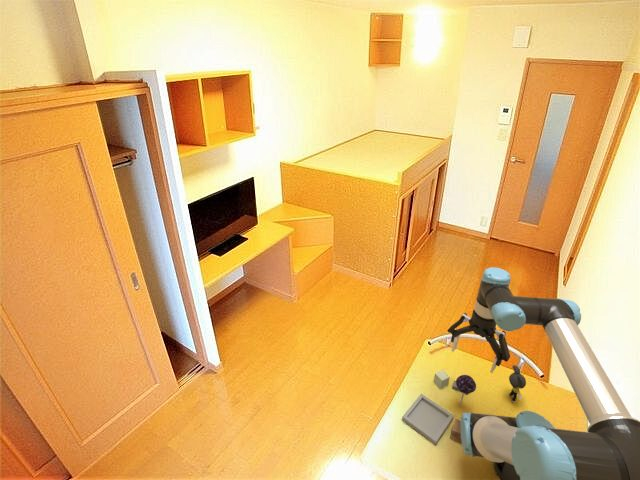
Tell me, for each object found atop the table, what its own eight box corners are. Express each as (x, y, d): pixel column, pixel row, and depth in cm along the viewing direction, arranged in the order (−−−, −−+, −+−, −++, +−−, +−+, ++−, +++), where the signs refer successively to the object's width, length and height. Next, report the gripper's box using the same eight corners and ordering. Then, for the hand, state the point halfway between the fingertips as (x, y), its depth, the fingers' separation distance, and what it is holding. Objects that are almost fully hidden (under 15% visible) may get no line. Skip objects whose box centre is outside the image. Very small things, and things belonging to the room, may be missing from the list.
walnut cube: (467, 433, 124) (470, 424, 121) (464, 445, 120) (467, 436, 117) (452, 426, 126) (455, 418, 123) (449, 438, 122) (452, 430, 119)
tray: (453, 419, 128) (454, 415, 127) (435, 445, 120) (436, 441, 119) (420, 397, 136) (421, 393, 135) (401, 420, 128) (402, 416, 127)
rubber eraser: (468, 389, 139) (469, 386, 138) (467, 395, 137) (468, 392, 136) (453, 383, 142) (454, 380, 141) (451, 389, 140) (452, 385, 139)
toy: (522, 408, 132) (534, 381, 124) (508, 408, 132) (518, 381, 125) (512, 389, 139) (522, 363, 132) (498, 389, 139) (508, 362, 132)
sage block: (447, 385, 141) (449, 376, 139) (440, 389, 140) (442, 380, 137) (440, 378, 144) (442, 369, 142) (433, 381, 143) (435, 373, 140)
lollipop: (466, 397, 136) (474, 371, 129) (471, 413, 130) (480, 386, 123) (448, 396, 137) (455, 369, 129) (452, 412, 131) (460, 385, 123)
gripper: (532, 324, 106) (514, 373, 116) (454, 290, 121) (444, 336, 131) (524, 337, 101) (506, 387, 112) (444, 300, 116) (434, 346, 127)
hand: (472, 359), depth 121 cm, fingers open, 13 cm apart
